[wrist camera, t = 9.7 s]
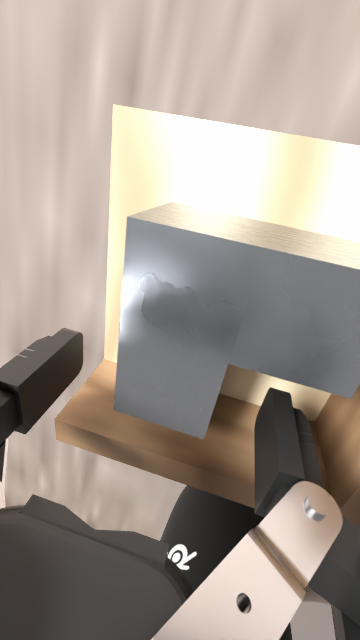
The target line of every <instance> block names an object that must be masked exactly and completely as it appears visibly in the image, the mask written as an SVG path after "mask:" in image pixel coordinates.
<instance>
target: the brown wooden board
mask: <svg viewBox="0 0 360 640" xmlns="http://www.w3.org/2000/svg"><path fill="white" fill-rule="evenodd" d="M116 367H117V363H115V362H112V361H108V360H105V359H104V360H103V361H102V362H101V364H100V365H99V366H98V367H97V369H96V370H95V371H94V372H93V373H92V375H91V376H90V377H89V378H88V379H87V381H86V382H85V383H84V384H83V386H82V387H81V388H80V389H79V390H78V392H77V393H76V394H75V395H74V396H73V398H72V399H71V400H70V401H69V402H68V404H67V405H66V406H65V407H64V409H63V410H62V411H61V412H60V413H59V415H58V416H57V417H56V418H55V430H56V440H59V441H62V442H64V443H67V444H70V445H73V446H76V447H79V448H82V449H85V450H88V451H90V452H93V453H96V454H99V455H102V456H105V457H108V458H111V459H113V460H116V461H119V462H122V463H125V464H128V465H131V466H134V467H137V468H139V469H142V470H145V471H148V472H151V473H154V474H157V475H160V476H162V477H165V478H168V479H171V480H174V481H177V482H180V483H183V484H186V485H188V486H191V487H194V488H197V489H200V490H203V491H206V492H209V493H211V494H214V495H217V496H220V497H223V498H226V499H229V500H232V501H235V502H237V503H240V504H243V505H246V506H249V507H252V508H255V461H254V428H255V421H256V417H257V414H258V412H259V409H260V407H261V406H259V405H256V404H253V403H249V402H246V401H242V400H239V399H236V398H232V397H229V396H226V395H222V394H218V397H217V401H216V404H215V407H214V410H213V413H212V416H211V419H210V422H209V425H208V428H207V431H206V434H205V437H204V439H201V438H198V437H195V436H192V435H189V434H186V433H182V432H179V431H176V430H173V429H170V428H167V427H164V426H161V425H158V424H155V423H152V422H149V421H146V420H143V419H140V418H136V417H133V416H130V415H127V414H124V413H121V412H118V411H115V410H114V396H115V381H116ZM308 421H309V423H310V428H311V432H312V437H313V441H314V447H315V450H316V454H317V459H318V463H319V468H320V472H321V476H322V481H323V485H324V489H325V491H327V492H328V493H329V494H330V495H331V496H332V498H333V499H334V500H335V502H336V503H337V505H338V507H339V509H340V511H341V514H342V515H343V516H344V517H345V518H346V519H347V520H349V521H350V522H352V523H353V524H355V525H356V526H358V527H359V528H360V385H359V387H358V388H357V390H356V391H355V393H354V394H353V396H352V397H351V399H349V398H346V397H342V396H339V395H335V394H332V393H331V395H330V396H329V398H328V400H327V402H326V403H325V405H324V407H323V408H322V410H321V412H320V413H319V415H318V417H317V418H316V420H315V422H313V421H310V420H308Z"/></svg>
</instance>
